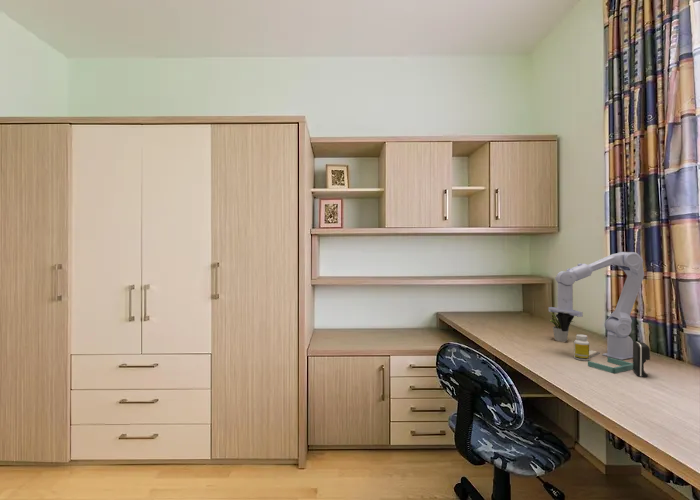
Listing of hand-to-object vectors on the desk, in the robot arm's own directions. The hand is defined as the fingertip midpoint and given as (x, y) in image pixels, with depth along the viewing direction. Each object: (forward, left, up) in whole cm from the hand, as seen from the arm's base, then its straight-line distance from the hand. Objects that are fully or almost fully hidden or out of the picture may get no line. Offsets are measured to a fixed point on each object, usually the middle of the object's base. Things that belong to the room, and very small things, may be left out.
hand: (564, 331), depth 167 cm
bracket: (0, +20, -10) cm, 22 cm away
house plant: (-21, -16, -10) cm, 29 cm away
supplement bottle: (0, +8, -10) cm, 13 cm away
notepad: (-10, +4, -10) cm, 15 cm away
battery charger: (-1, +29, -10) cm, 31 cm away
